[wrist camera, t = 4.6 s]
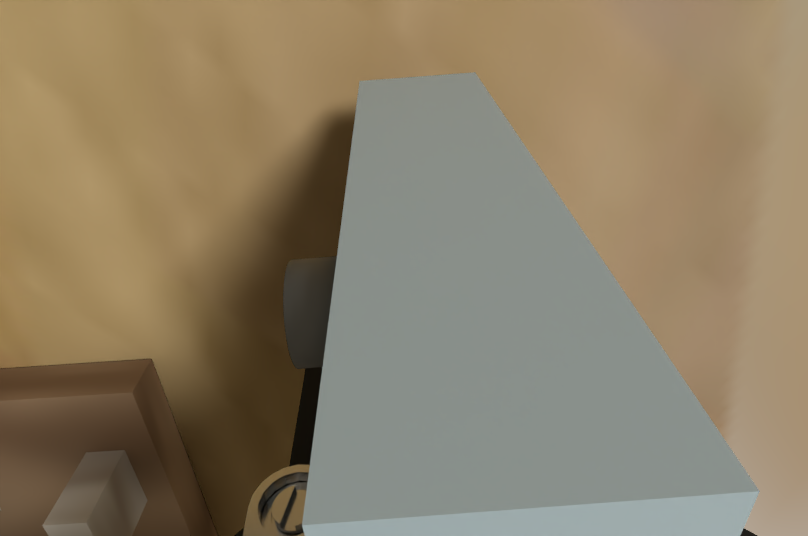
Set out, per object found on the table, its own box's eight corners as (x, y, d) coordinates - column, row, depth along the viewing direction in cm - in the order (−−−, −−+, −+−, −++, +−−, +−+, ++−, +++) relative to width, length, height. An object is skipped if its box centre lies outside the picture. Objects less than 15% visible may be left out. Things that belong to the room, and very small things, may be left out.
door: (321, 83, 11) (149, 537, 3) (474, 72, 11) (759, 491, 3) (368, 422, 17) (356, 938, 8) (473, 414, 17) (572, 922, 8)
